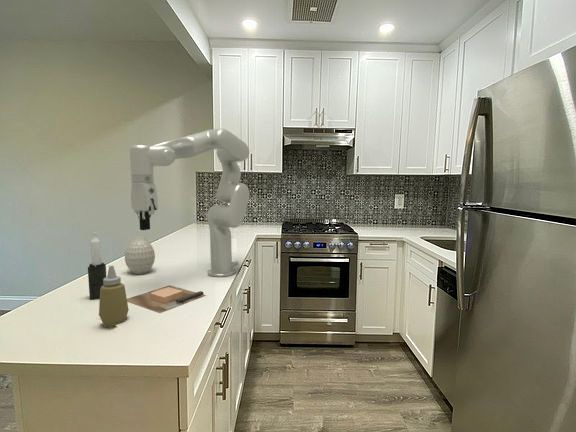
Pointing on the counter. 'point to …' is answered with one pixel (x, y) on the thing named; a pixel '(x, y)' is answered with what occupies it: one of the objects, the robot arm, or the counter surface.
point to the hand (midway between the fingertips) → (145, 229)
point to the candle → (96, 270)
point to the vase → (139, 256)
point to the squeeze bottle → (112, 300)
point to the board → (153, 305)
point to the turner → (180, 301)
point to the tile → (166, 295)
